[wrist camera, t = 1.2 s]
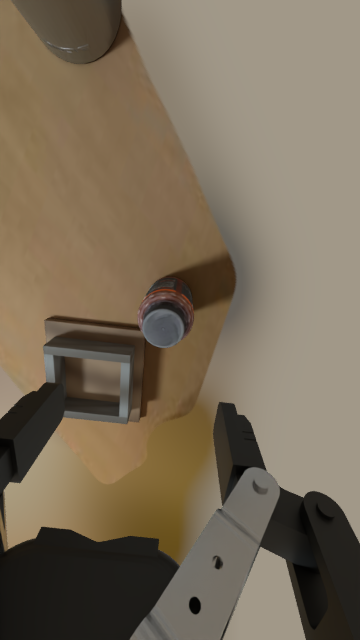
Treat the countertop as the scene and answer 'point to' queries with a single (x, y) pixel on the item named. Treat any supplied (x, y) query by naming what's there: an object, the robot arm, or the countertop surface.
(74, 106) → the countertop surface
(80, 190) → the countertop surface
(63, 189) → the countertop surface
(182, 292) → the supplement bottle
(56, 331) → the socket board
